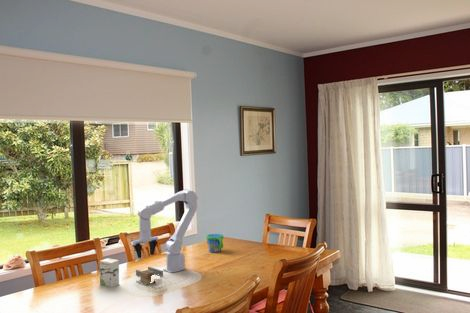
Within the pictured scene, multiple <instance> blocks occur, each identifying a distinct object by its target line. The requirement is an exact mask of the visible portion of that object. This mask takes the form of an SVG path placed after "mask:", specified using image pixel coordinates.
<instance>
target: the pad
mask: <svg viewBox="0 0 470 313" xmlns="http://www.w3.org/2000/svg"><path fill="white" fill-rule="evenodd" d="M138 282H139V283H138ZM135 283H138V284H140V283H142V282H141V280H140V279H139V280H136V281H135ZM143 284H144V286H148V285H147V284H145V283H142V284H141V285H143Z"/></svg>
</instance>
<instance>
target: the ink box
mask: <svg viewBox="0 0 470 313" xmlns="http://www.w3.org/2000/svg"><path fill="white" fill-rule="evenodd" d="M99 284H100V285H102V286H107V287H111V288H112V287H115V286H117V285H119V284H120V260H118V259H114V258H109V257H108V258H104V259H100V260H99Z"/></svg>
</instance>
